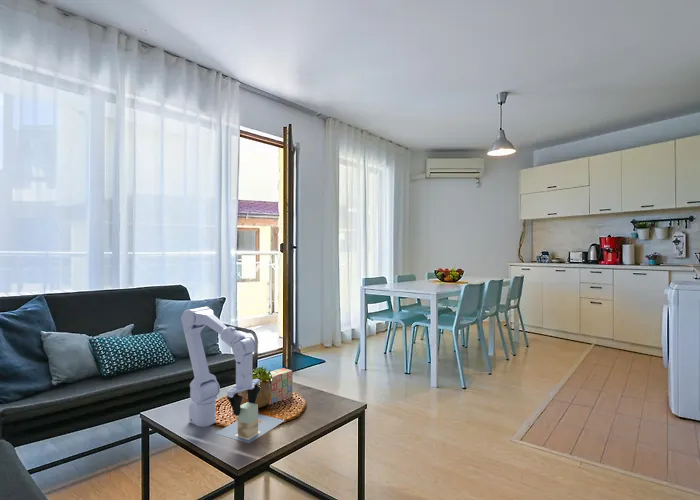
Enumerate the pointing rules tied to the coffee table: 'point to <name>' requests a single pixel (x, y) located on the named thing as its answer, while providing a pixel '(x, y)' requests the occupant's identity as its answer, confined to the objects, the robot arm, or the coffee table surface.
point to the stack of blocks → (281, 385)
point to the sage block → (248, 412)
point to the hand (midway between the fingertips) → (244, 410)
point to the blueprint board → (263, 427)
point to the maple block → (248, 429)
